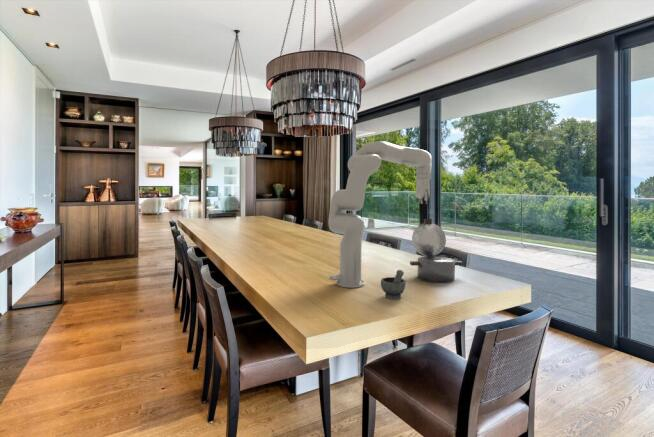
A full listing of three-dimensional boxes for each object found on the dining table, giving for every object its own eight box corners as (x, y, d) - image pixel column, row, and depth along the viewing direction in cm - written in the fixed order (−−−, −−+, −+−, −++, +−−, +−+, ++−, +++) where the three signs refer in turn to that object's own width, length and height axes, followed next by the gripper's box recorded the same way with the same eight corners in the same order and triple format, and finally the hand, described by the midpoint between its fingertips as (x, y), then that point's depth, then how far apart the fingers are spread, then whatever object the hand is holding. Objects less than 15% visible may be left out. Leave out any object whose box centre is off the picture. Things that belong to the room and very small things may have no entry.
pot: (415, 283, 162) (416, 263, 161) (405, 273, 180) (405, 255, 179) (468, 282, 163) (469, 263, 162) (452, 273, 181) (453, 255, 180)
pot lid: (411, 218, 181) (410, 219, 184) (413, 256, 178) (411, 256, 181) (444, 218, 182) (442, 219, 185) (446, 256, 179) (444, 256, 182)
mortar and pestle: (376, 294, 144) (377, 265, 143) (397, 292, 148) (397, 264, 146) (390, 303, 134) (391, 272, 133) (412, 300, 137) (412, 270, 136)
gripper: (412, 177, 197) (412, 210, 199) (420, 176, 182) (420, 212, 184) (425, 177, 197) (425, 210, 199) (435, 176, 182) (434, 212, 184)
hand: (422, 211), depth 191 cm, fingers closed
